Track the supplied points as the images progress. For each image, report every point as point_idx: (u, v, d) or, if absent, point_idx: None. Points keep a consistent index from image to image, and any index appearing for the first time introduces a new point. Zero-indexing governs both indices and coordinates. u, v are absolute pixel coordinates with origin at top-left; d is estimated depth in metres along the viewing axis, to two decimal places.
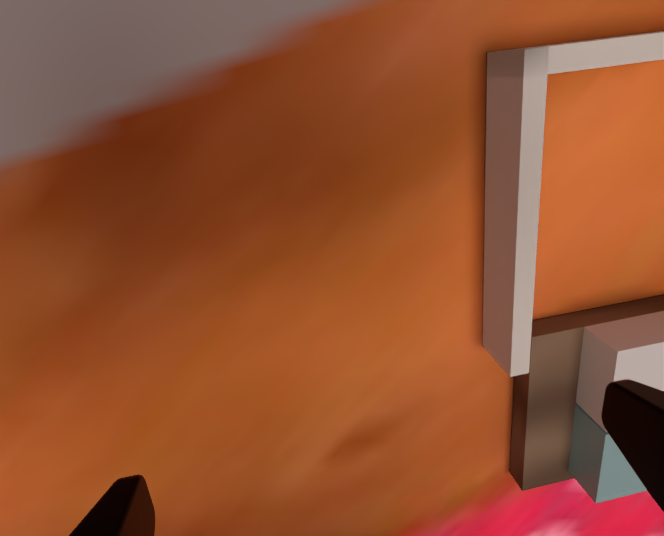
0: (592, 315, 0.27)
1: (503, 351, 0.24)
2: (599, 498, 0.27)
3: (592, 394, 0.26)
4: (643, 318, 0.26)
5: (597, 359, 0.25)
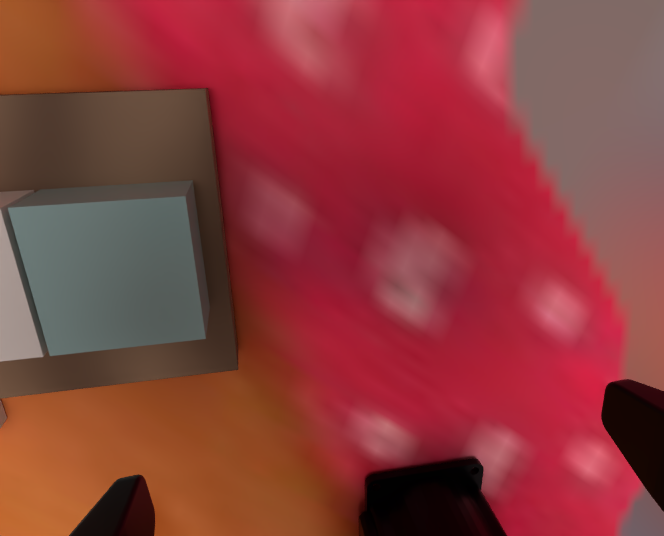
0: None
1: None
2: (195, 335, 0.16)
3: None
4: None
5: None
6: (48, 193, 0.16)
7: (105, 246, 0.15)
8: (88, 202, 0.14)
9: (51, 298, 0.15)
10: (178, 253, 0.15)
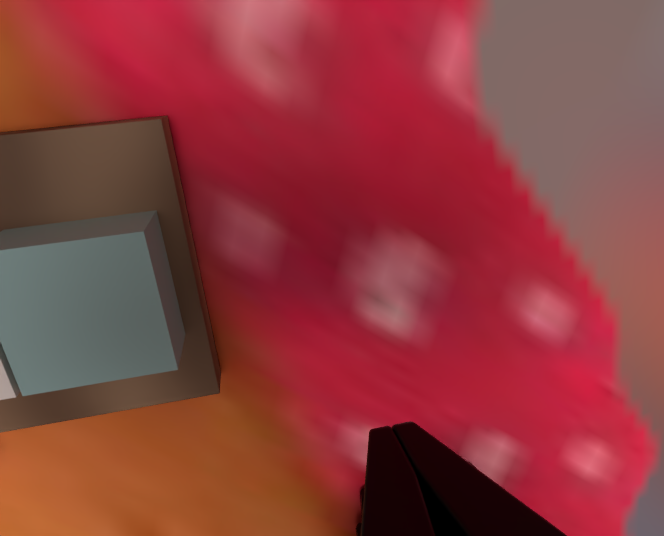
0: None
1: None
2: (166, 366, 0.16)
3: None
4: None
5: None
6: (10, 234, 0.16)
7: (66, 285, 0.15)
8: (46, 244, 0.14)
9: (18, 340, 0.15)
10: (142, 287, 0.15)
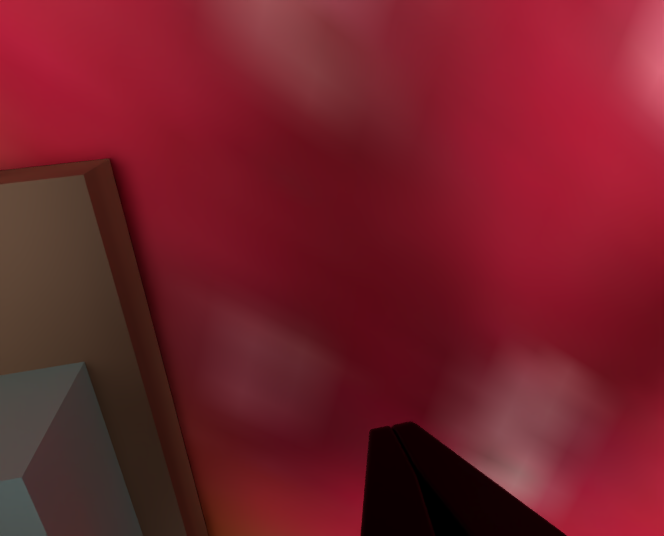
0: None
1: None
2: None
3: None
4: None
5: None
6: None
7: None
8: None
9: None
10: None
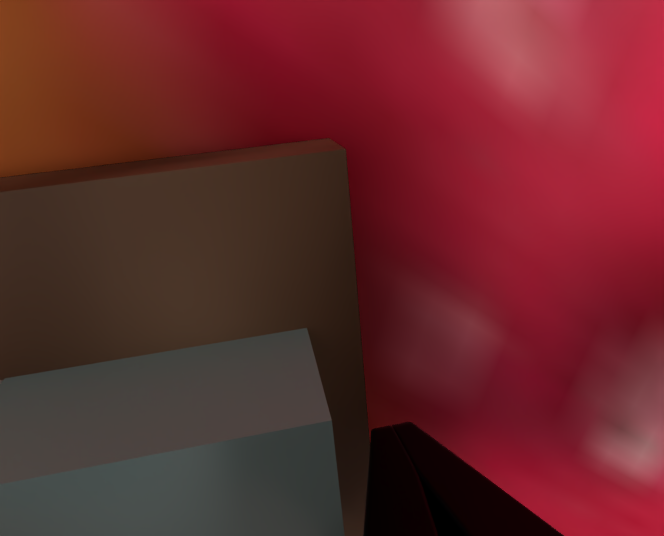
0: None
1: None
2: None
3: None
4: None
5: None
6: (18, 401, 0.07)
7: None
8: (106, 460, 0.06)
9: None
10: (310, 527, 0.07)
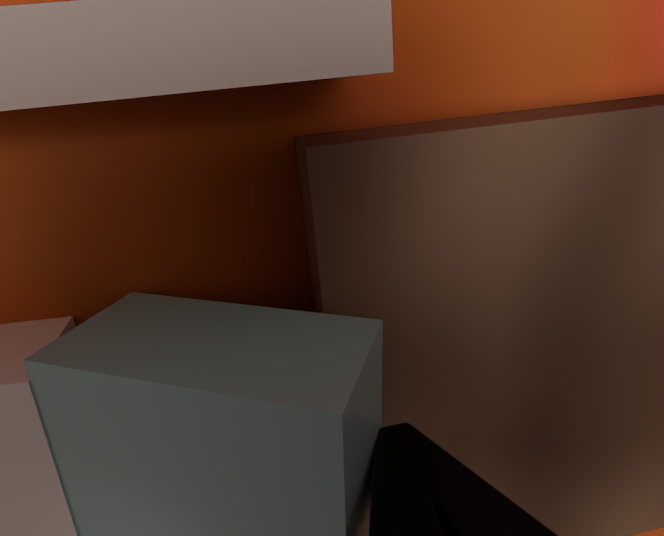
0: None
1: None
2: None
3: None
4: None
5: None
6: (128, 311, 0.09)
7: (175, 461, 0.07)
8: (149, 378, 0.07)
9: (93, 513, 0.08)
10: (313, 515, 0.07)
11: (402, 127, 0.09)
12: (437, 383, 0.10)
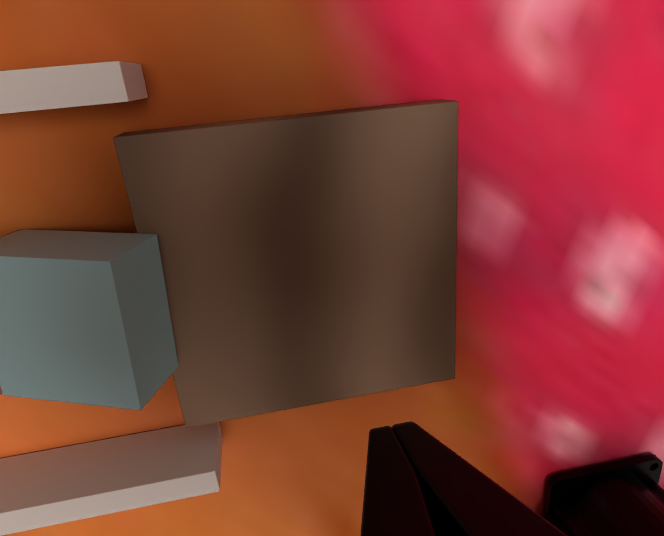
0: None
1: None
2: (130, 404, 0.15)
3: None
4: None
5: None
6: (18, 236, 0.16)
7: (40, 301, 0.14)
8: (23, 256, 0.14)
9: None
10: (107, 319, 0.14)
11: (183, 127, 0.16)
12: (214, 276, 0.17)
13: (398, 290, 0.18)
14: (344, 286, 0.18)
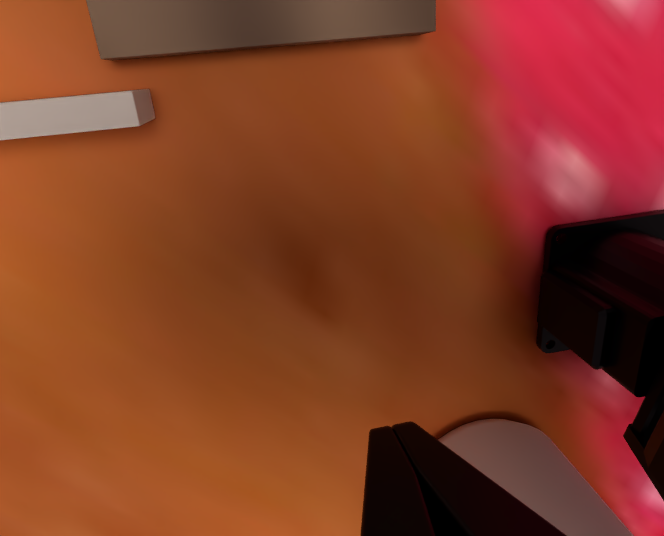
0: None
1: None
2: None
3: None
4: None
5: None
6: None
7: None
8: None
9: None
10: None
11: None
12: None
13: None
14: None
